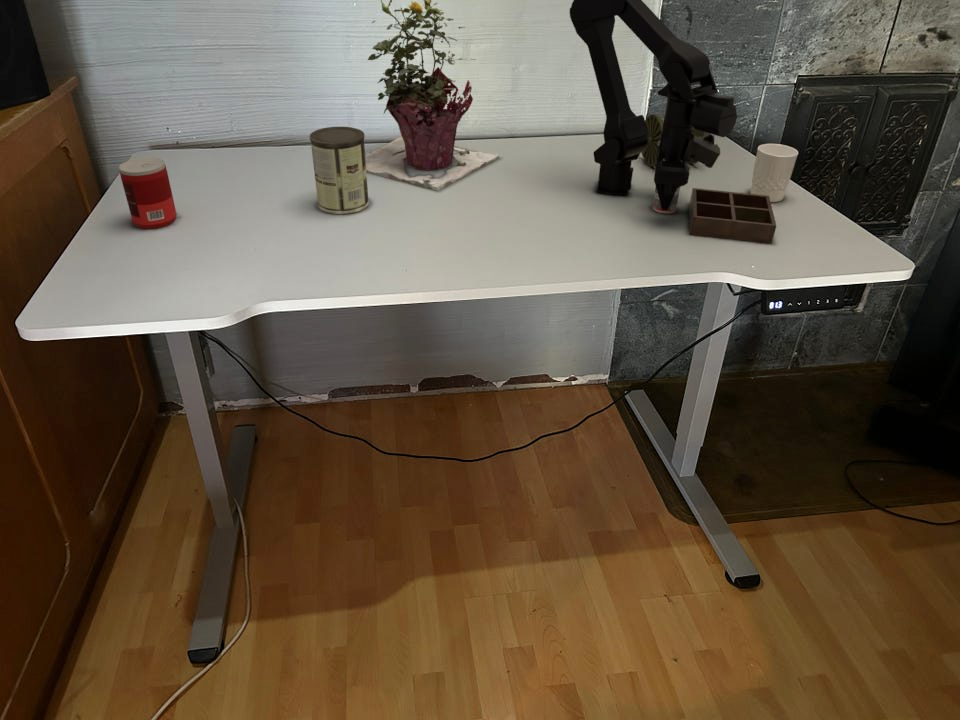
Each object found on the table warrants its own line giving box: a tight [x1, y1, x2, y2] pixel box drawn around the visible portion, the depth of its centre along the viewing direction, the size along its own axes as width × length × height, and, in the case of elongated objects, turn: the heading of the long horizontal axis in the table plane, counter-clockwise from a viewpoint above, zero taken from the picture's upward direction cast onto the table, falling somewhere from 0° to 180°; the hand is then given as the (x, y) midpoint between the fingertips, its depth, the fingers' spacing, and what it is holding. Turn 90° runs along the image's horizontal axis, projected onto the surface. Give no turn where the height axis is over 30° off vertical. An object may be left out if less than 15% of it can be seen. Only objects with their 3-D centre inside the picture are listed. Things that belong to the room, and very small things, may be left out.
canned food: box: [118, 156, 177, 230], centre depth 138 cm, size 8×8×11 cm
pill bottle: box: [652, 187, 681, 214], centre depth 148 cm, size 5×5×8 cm
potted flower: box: [365, 0, 500, 192], centre depth 161 cm, size 27×25×35 cm
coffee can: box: [309, 126, 370, 215], centre depth 145 cm, size 10×10×14 cm
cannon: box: [641, 113, 707, 167], centre depth 174 cm, size 25×12×11 cm, turn 13°
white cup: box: [749, 143, 799, 203], centre depth 155 cm, size 8×8×10 cm
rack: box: [688, 187, 777, 245], centre depth 145 cm, size 15×15×4 cm
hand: (665, 201), depth 150 cm, fingers open, 9 cm apart
